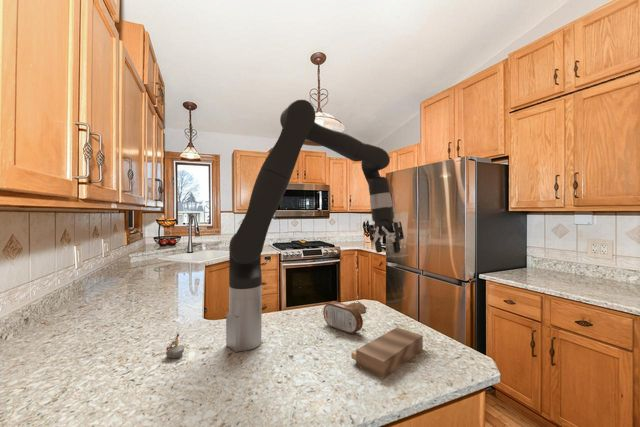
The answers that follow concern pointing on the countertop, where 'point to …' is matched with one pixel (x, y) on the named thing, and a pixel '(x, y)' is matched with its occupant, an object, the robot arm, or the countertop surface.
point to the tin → (343, 317)
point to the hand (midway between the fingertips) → (387, 252)
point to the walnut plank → (388, 352)
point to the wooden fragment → (358, 307)
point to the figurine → (174, 349)
